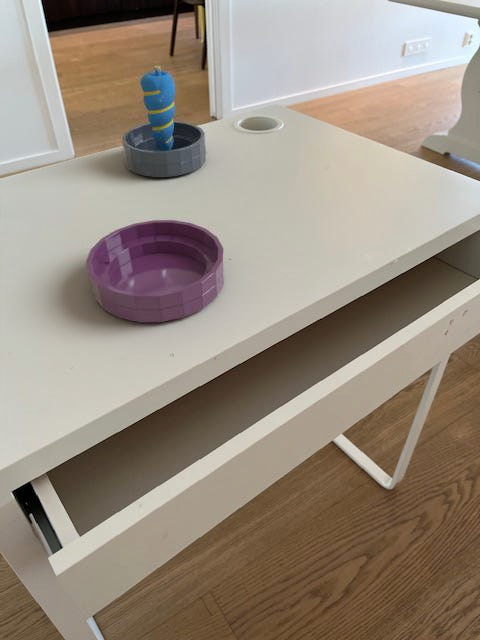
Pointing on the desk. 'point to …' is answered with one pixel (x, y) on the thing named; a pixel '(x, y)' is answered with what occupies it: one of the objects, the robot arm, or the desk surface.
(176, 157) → the grey bowl
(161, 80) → the ornament
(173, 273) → the plum bowl
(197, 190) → the desk surface
